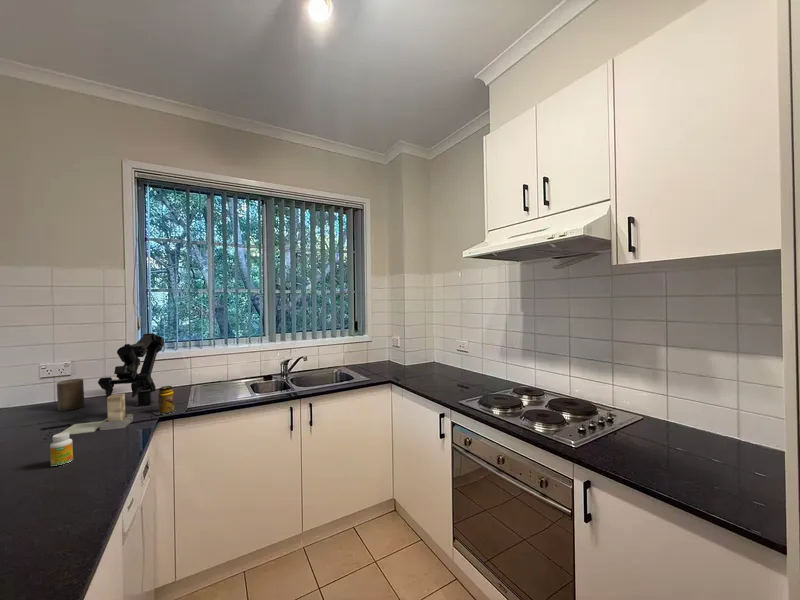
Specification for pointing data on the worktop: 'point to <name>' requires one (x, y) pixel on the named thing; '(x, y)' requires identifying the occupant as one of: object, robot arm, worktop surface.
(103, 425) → the collar
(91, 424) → the mat
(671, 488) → the worktop surface
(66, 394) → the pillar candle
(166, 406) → the condiment
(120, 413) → the block
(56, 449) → the supplement bottle
